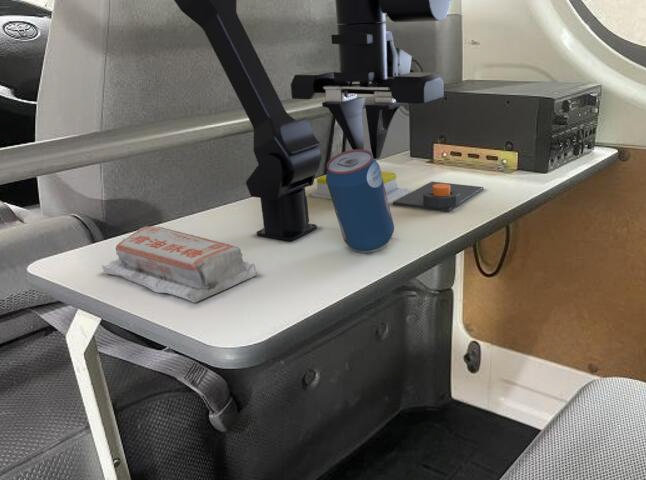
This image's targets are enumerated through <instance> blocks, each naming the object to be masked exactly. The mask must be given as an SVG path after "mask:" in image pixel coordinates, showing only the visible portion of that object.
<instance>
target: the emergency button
mask: <svg viewBox="0 0 646 480" xmlns="http://www.w3.org/2000/svg"><path fill="white" fill-rule="evenodd" d="M381 174H382V178H383V182H384V187H385V191H386V195H387V199H388V203H389V204H390V203H391V202H394V201H396V200H398V199H400V198H401V197H403V196H405V195H407V194H409V189H408V188H406V187H398V181H397V174H396V172H388V171H381ZM326 175H327V173H326V174H324V175H321V176H318V177H317V178H316V189H313V190H311V191H310V196H311V197H313V198H315V197H317V198H323V199H327V200H328V199H330V200H332V199H331V196H330V192H329V189H328V185H327V182H326Z"/></svg>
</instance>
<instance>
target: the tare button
mask: <svg viewBox="0 0 646 480" xmlns="http://www.w3.org/2000/svg"><path fill="white" fill-rule="evenodd" d="M433 195H434V196H448V195H450V185H448V184H435V185H433Z"/></svg>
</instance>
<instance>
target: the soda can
mask: <svg viewBox="0 0 646 480" xmlns="http://www.w3.org/2000/svg"><path fill="white" fill-rule="evenodd" d="M326 169H327V171H326V174H327V175H326V174H325V175H326V182H327V185H328V189H329V192H330V196H331V199H330V200H331V203H332V205H333V209H334V213H335V215H336V219H337V222H338V225H339V228H340V232H341V235H342V239H343V241H344V243H345V244H346V245H347V246H349V248H351V249H352V250H353V251H355V252H357V253H363V254H364V253H365V254H366V253H373V252H377V251H379V250H381V249H383V248H385V247H386V246H388V244H389V243H390V241H391V240H392V237H393V235H394V231H395V223H394V220H393V216H392V212H391V208H390V202H389V203H388V199H387V195H386V191H385V187H384V182H383V178H382V174H381V172H382V170H381V167H380V164H379V162H378V161H377V159H374V158H373V155H372V151H369V150H367V149H364V150H363V149H355V150H353V149H349V150H345V151H343V152H340V153H338V154H336V155H334V156H332V157H331V158H330V159H329V160H328V162H327V163H326Z"/></svg>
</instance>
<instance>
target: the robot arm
mask: <svg viewBox="0 0 646 480" xmlns="http://www.w3.org/2000/svg"><path fill="white" fill-rule="evenodd" d="M173 1H174V3H175V4H176V5H177V8H178V9H179V10H180V11H181V12H182V13H183V15H185V16H186V17H187V18H189V19H190V20H191V21H193V22H194V23H195V24H196V25H198V26H199V27H200V28H201V29H202V31H203V32H204V34H205V36H206V38H207V40H208V42H209V44H210V46H211V48H212V50H213V52H214V54H215V56H216V58H217V60H218V62H219V64H220V66H221V68H222V69H223V71H224V73H225V75H226V78H227V79H228V81H229V84H230V85H231V87H232V89H233V91H234V92H235V95H236V96H237V98H238V101H239V102H240V104H241V106H242V108H243V110H244V112H245V114H246V116H247V118H248V120H249V123H250V124H251V126H252V129H253V147H252V148H253V150H252V151H253V154H254V156H255V159H256V161H257V166H256V167H255V169H254V170H253V171H252V173H251V174H250V175H249V177H248V178H247V180H246V181H245V185H246V187H247V190H248V192H249V195H250V196H251V197H252V198H259V199H260V206H261V214H262V221H263V228H262V229H259V230H257V231H256V236H260V237H265V238H271V239H274V240H275V239H277V240H280V241H281V240H282V241H288V242H291V241H294V240H296V239H299V238H301V237H302V236H305V235H307V234H309V233H311V232H312V231H315V230H316V229H317V228H318V225H317V224H316V223H315V224H314V223H309V222H310V217H309V208H308V197H307V195H306V188H308V187H311V186H313V185H314V182H315V179H316V174H317V173H318V171H319V169H320V166H321V161H322V153H321V149H320V148H319V146H320V147H321V142H320V141H319V140H318V138H317V137H316V136H315V134H314V131H313V129H312V126H311V123H310V122H309V120H308V119H307V118H306V117H304V118H300V119H295V118H294V117H292V115H290V114H289V113H288V112H287V110H286V109H285V107H284V105H283V103H282V101H281V99H280V97H279V94H278V92H277V90H276V89H275V87H274V85H273V83H272V81H271V79H270V77H269V75H268V73H267V71H266V70H265V67H264V65H263V63H262V61H261V59H260V57H259V55H258V53H257V52H256V49H255V47H254V46H253V43H252V41H251V39H250V37H249V35H248V33H247V32H246V29H245V28H244V25H243V23H242V22H241V20H240V17H239V15H238V13H237V5H238V3H237V2H238V0H173ZM334 1H335V14H336V17H335V18H336V30H337V33H336V34H334V33H333V34H331V35H330V36H331V38H330V39H331V45H337V46H338V47H337V48H338V59H339V71H336V70H335V71H334V70H332V71H330V70H313V71H309V72H303V73H298V74H297V73H296V74H294V76H293V78H292V80H291V82H290V94H291V99H293V100H294V99H295V100H312V99H313V98H314V97H315V96H316V94H324V97H325V98H324V99H325V101H323V102H321V105H322V108H327V109H328V111H329V112H330V113H331V115H332V116H333V118H334V120H335V121H336V123H337V124H338V126H339V127H340V129H341V131H342V132H343V134H344V137H345V139H346V140H347V142H348V144H349V146H350V147H351V150H355V149H363V150H365V149H364V147H365V143H364V125H363V113H362V112H363V108H364V107H365V115H366V123H367V130H368V137H369V138H368V139H369V145H370V146H369V147H370V152H371V154H372V157H373V158H374V159H375V160H378V159H380V158H381V156H382V152H383V149H384V147H385V146H384V145H385V142H386V139H387V135H388V131H389V129H390V126H391V123H392V121H393V118H394V117H395V114H396V113H397V111H398V110H399V108H400V107H402V106H404V105H405V106H406V105H407V104H425V103H429V102H431V101H435V100H438V99H441V98H444V81H443V79H442V76H441V75H440V74H439V72H419V71H416V72H415V71H414V72H413V71H412V72H411V66H412V58H413V56H412V55H411V54H409V53H408V52H406V51H404V50H403V49H401V48H399V47H396V46H395V45H394V36H393V32H392V31H391V30H389V31H388V30H387V22H386V21H387V17H388V19H389V20H390V21H391V22H394V23H409V22H410V23H416V22H417V23H418V22H441V21H443V20H445V19H446V17H447V16H448V13H449V11H450V7H451V2H452V0H334ZM386 15H387V16H386ZM357 95H374V102H370V103H368V104H365V102H366V99H367V98H366V96H357Z"/></svg>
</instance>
